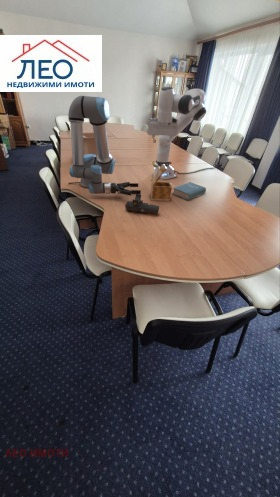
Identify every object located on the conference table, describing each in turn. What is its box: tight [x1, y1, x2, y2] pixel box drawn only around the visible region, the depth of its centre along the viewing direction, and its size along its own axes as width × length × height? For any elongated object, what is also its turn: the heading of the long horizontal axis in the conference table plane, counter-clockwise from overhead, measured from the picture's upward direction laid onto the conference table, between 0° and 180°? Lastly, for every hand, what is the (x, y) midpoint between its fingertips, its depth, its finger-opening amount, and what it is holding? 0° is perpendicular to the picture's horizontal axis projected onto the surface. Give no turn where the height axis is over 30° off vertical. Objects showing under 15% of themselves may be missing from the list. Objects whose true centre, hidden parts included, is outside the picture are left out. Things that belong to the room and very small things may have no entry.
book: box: [172, 181, 207, 201], centre depth 178 cm, size 23×16×5 cm
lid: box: [150, 161, 167, 186], centre depth 157 cm, size 15×10×9 cm
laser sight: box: [124, 194, 160, 215], centre depth 146 cm, size 10×22×10 cm, turn 78°
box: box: [83, 129, 114, 157], centre depth 229 cm, size 44×36×27 cm
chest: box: [149, 181, 173, 202], centre depth 167 cm, size 14×10×11 cm
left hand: (139, 188), depth 164 cm, fingers open, 13 cm apart
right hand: (161, 142), depth 146 cm, fingers open, 8 cm apart
